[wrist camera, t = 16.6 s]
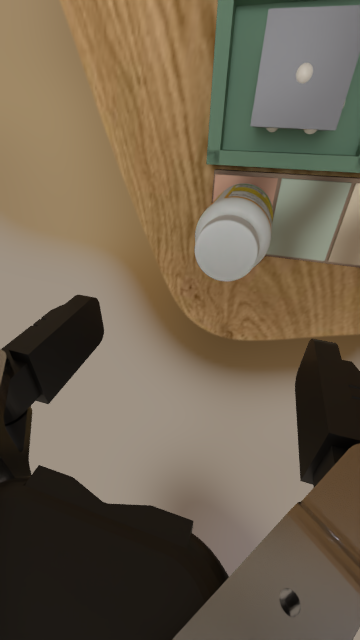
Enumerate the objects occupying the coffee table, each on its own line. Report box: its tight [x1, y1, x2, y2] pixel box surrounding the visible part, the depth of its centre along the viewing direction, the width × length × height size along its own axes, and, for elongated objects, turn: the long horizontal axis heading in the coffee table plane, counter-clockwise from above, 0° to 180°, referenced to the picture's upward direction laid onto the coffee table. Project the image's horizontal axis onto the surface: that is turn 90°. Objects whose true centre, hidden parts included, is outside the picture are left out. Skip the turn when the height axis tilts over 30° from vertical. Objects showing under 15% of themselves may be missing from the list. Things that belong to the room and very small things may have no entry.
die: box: [250, 5, 360, 134], centre depth 17 cm, size 5×5×5 cm
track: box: [212, 169, 360, 268], centre depth 24 cm, size 16×7×1 cm, turn 89°
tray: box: [207, 0, 360, 173], centre depth 19 cm, size 12×10×2 cm
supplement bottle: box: [195, 183, 273, 281], centre depth 21 cm, size 5×5×10 cm
